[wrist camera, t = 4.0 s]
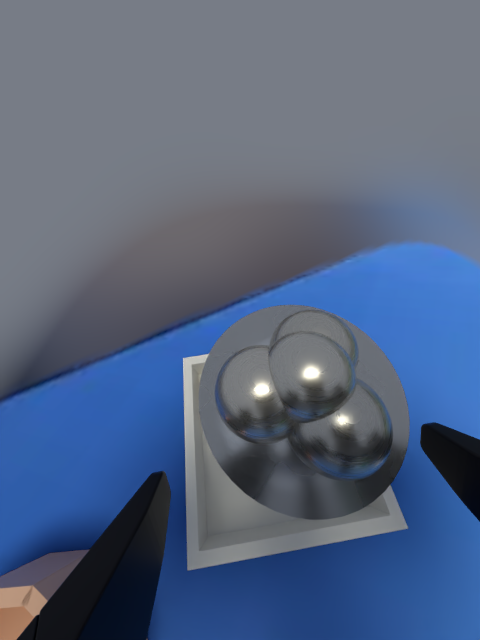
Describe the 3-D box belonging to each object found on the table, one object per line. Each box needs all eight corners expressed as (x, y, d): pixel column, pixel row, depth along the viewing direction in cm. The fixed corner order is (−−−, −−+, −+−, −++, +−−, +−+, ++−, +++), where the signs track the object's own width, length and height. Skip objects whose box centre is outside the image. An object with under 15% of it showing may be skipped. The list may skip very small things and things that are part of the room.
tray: (380, 514, 14) (408, 528, 11) (200, 548, 14) (187, 570, 11) (319, 349, 20) (328, 333, 17) (192, 371, 19) (183, 358, 17)
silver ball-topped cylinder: (294, 490, 14) (503, 688, 2) (222, 450, 16) (112, 437, 4) (317, 411, 16) (479, 297, 5) (252, 382, 18) (245, 236, 6)
